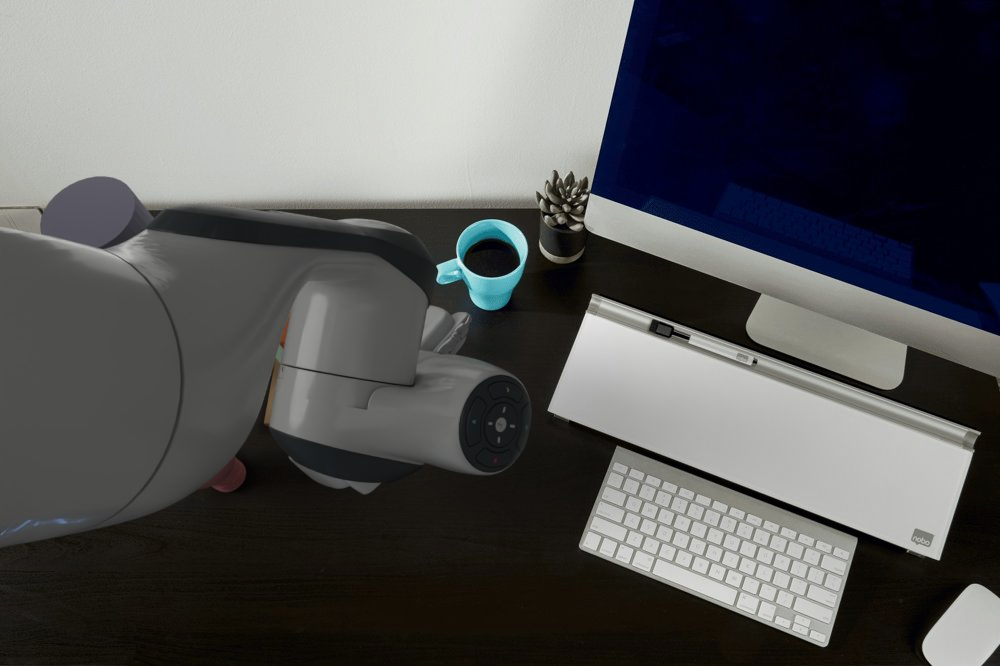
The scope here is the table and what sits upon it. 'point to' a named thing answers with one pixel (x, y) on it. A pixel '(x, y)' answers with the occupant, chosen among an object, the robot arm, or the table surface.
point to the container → (95, 213)
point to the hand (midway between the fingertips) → (351, 382)
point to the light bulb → (228, 477)
